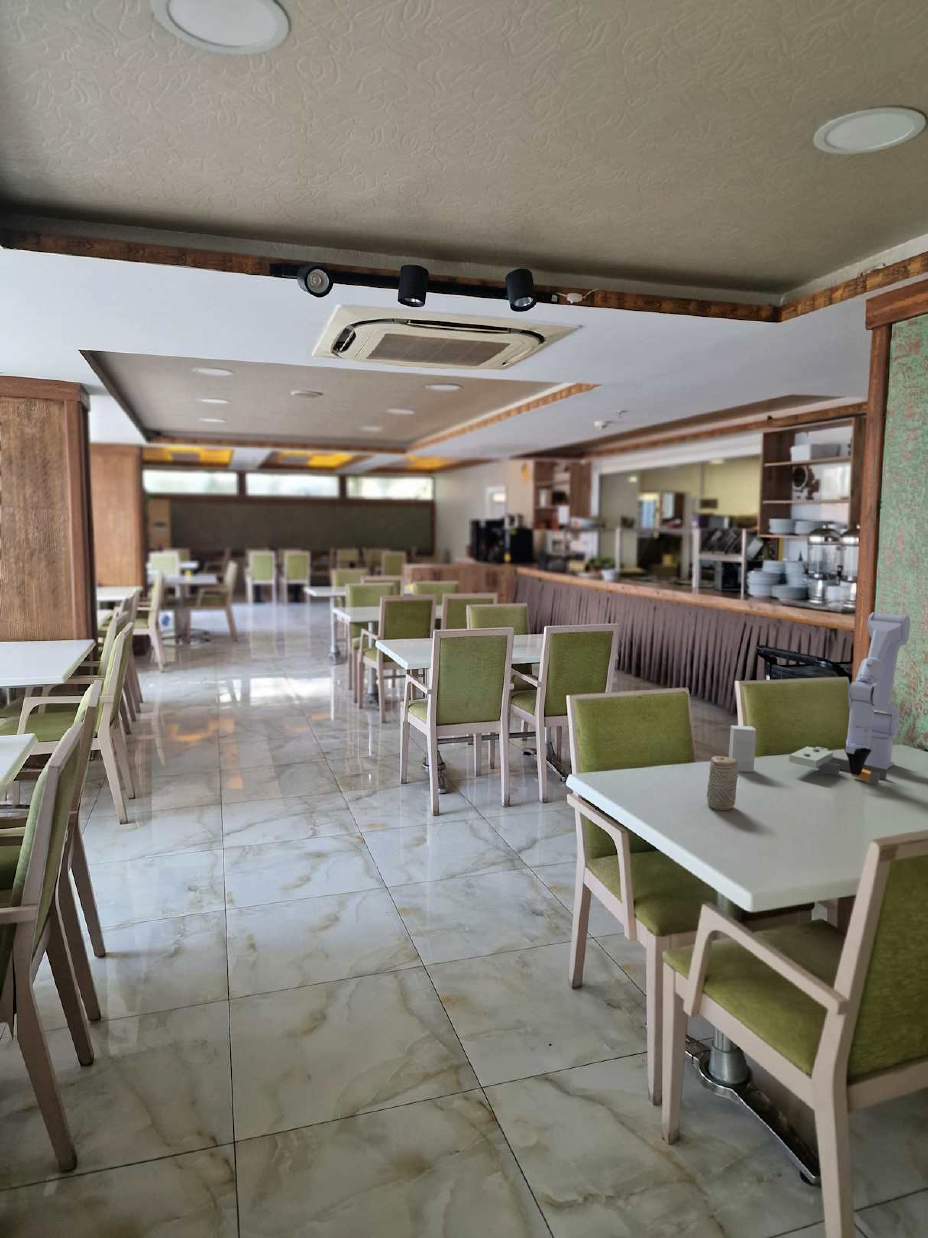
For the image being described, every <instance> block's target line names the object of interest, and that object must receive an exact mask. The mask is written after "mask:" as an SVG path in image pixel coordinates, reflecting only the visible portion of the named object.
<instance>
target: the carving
mask: <svg viewBox="0 0 928 1238" xmlns="http://www.w3.org/2000/svg"><path fill="white" fill-rule="evenodd" d="M708 775H709V776H708V781H707V791H706V798H707V799H706V801H707V805H708V806H709V808H711V809H712V810H718V811H727V810H730V809H732V808H733V807H734V806H735V805H736V799H737V796H736V795H737V783H738V779H739V771H738V763H737V761H736V759H734V758H730V757H729V756H721V755H720V756H719V755H717V756H716V755H715V756H713V757H711V758H710V762H709V774H708Z"/></svg>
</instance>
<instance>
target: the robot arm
mask: <svg viewBox="0 0 928 1238" xmlns="http://www.w3.org/2000/svg"><path fill="white" fill-rule="evenodd" d="M866 625H867V632H868V635H869V637H870V638H871V641H870V646H869V650H868V655H867V658H864V659H862V660H861V663H860V666H859V668H858V671H857V674H856V678H855V680H854V681H852V682H851V683H850V685H849V688H848V693H847V694H848V708H849V719H848V726H847V738H846V740H845V744H846V745H845V747H844V752H845V754H846V757H847V760H849V766H850V772H849V773H850V774H851V775H852V774H854V775H858V776H859V775H860V774H861V772H862V769H863V766H864V763H865V764H869V765H874V766H878V767H883V768H887V770H888V769H889V768H890V767H892V766H894V765H895V764H896V763H895V762H894V761H892V756H893V755H892V754H893V744H894V743H893V742H894V741H893V739H892V738H894V737H895V736H897V734H898V733H899V730H900V723H901V722H900V719H901V718H900V715H901V714H900V711H899V709H898V708H897V707H896V706H895V705H894V704H893V703H892V702H891V700H892V693H893V688H894V681H895V674H896V669H897V668H896V667H897V663H898V662H897V661H898V656H899V652H900V651H899V650H900V649H901V647H902V646H906V645H907V644H908V640H909V637H910V630H911V618H910V617H909V615H900V614H890V613H889V614H888V613H879V612H875V611H873V612H871V613H870V614H869V616H868V619H867V624H866ZM879 711H880V712H879ZM884 712H885V713H884Z"/></svg>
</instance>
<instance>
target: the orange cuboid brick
mask: <svg viewBox="0 0 928 1238" xmlns="http://www.w3.org/2000/svg"><path fill="white" fill-rule="evenodd" d="M870 773H871V771H868V770H865V769H862V772H861V774H860V775H859V776H858V775H854V774H851V777H854V778H857V779H859V778H860V779H859V780H862V781H865V782H868V783H869V780H870Z"/></svg>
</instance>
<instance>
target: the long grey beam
mask: <svg viewBox="0 0 928 1238" xmlns="http://www.w3.org/2000/svg"><path fill="white" fill-rule="evenodd" d="M863 769H865V770H868V771H871V773H870V780H869V782H868V784H870V785H874V786H879V783H880V780H884V781H886V780H887V776H888V769H887V768H883V767H878V766H874V765H869V764H865V763H864V766H863ZM840 770H841V771H845V772H849V773H851V772H850V766H849V760H848V758H842V757H837V756H833V758H832V759H831V760H830V761H828V762H826V763H824V764H822V765H820V766H819V768H818V772H819V773H823V772H824V773H823V774H828V775H832V776H835V775H836V777H838V775H839V776H840Z"/></svg>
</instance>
